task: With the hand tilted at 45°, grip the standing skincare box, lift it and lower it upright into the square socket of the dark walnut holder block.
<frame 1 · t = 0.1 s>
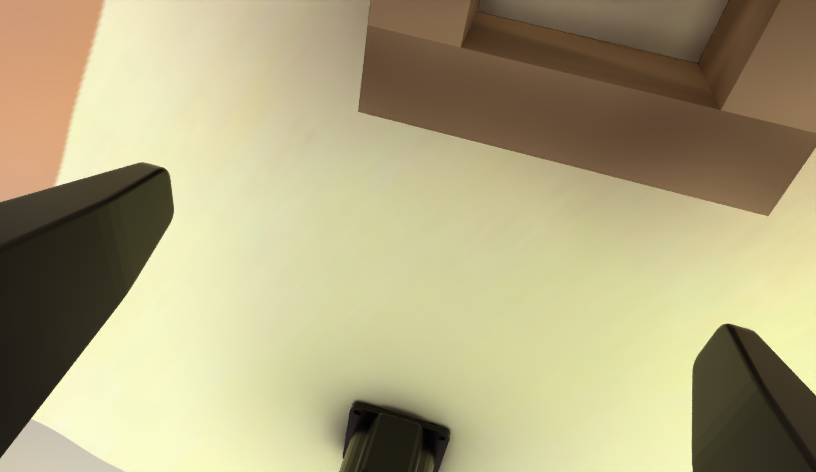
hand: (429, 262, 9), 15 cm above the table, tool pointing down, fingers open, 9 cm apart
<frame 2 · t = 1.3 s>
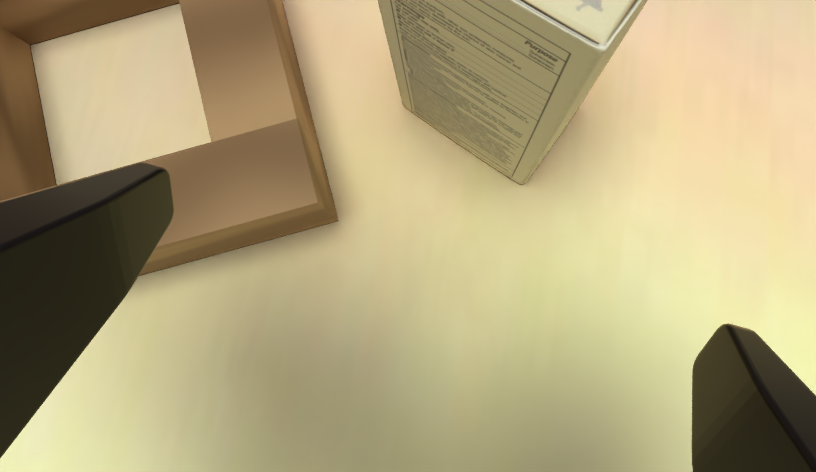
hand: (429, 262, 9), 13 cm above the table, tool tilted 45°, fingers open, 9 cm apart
skincare box: (485, 106, 23), on the table
walnut holder: (137, 106, 24), on the table
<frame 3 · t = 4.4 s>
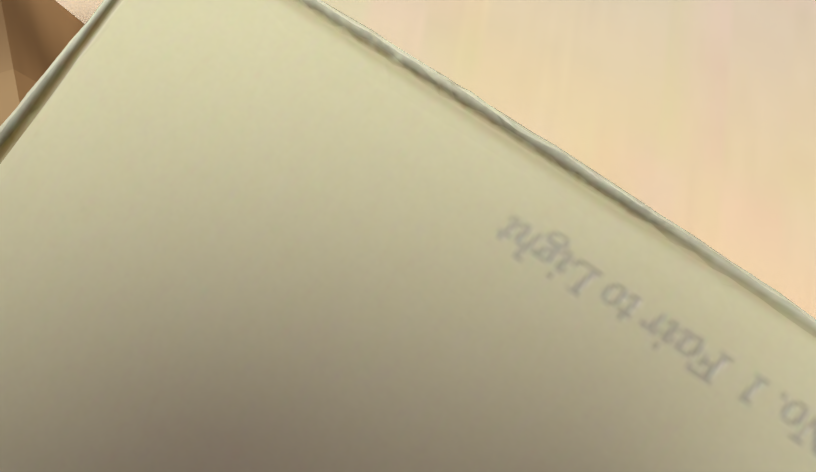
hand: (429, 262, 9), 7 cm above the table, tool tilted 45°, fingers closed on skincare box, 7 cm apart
skincare box: (418, 330, 16), on the table, touching gripper
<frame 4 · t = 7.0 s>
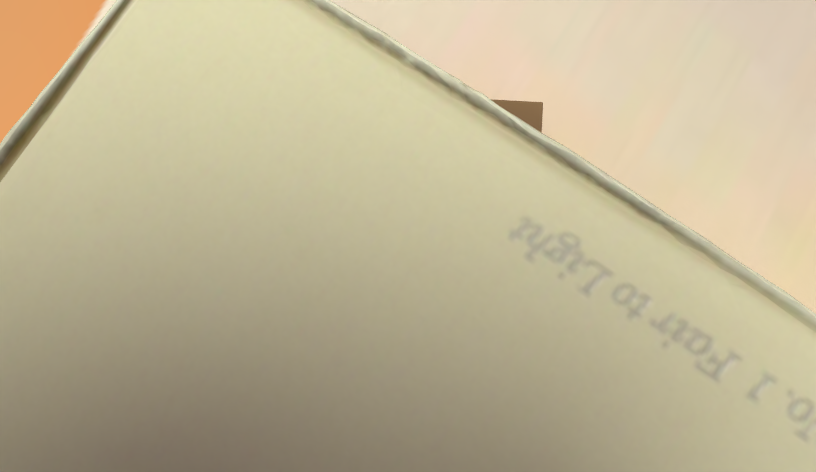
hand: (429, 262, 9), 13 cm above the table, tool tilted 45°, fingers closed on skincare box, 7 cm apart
skincare box: (416, 327, 16), point 6 cm above the table, touching gripper
walnut holder: (335, 300, 22), on the table
when the fingers open (7 cm above the table, at t = 9.7 s): skincare box stays where it is, resting in walnut holder.
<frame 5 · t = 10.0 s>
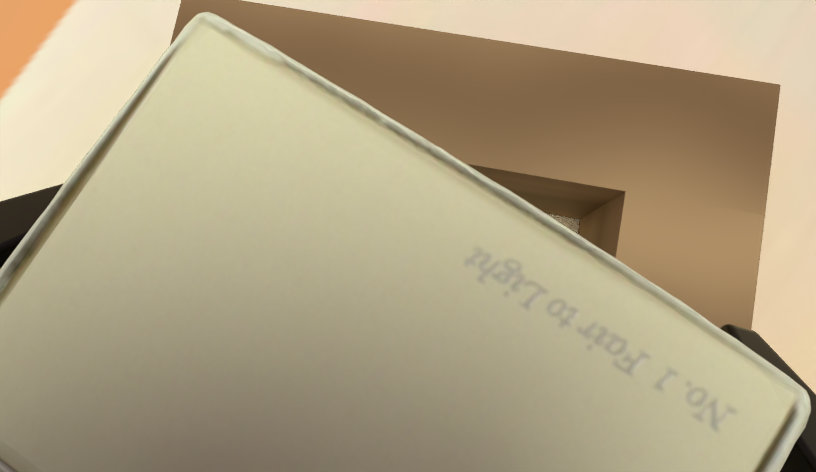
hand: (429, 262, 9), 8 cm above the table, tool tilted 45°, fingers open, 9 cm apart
skincare box: (414, 334, 17), resting in walnut holder
walnut holder: (419, 329, 16), on the table
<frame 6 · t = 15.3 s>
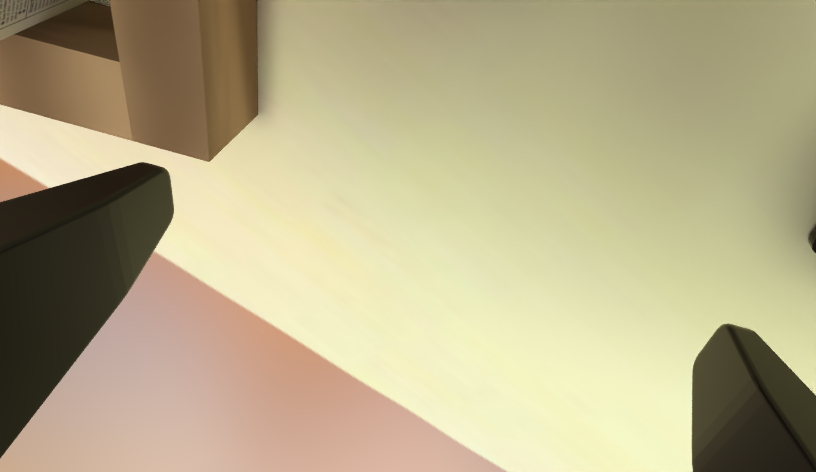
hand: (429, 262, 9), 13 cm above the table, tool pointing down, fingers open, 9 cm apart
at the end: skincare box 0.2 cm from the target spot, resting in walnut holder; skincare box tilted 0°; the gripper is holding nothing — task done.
